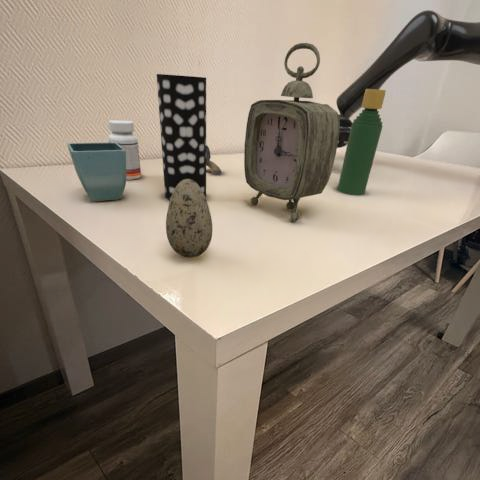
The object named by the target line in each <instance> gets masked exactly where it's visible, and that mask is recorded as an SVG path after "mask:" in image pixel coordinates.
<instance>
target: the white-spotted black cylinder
mask: <svg viewBox="0 0 480 480" xmlns="http://www.w3.org/2000/svg"><path fill="white" fill-rule="evenodd" d="M156 86H157V101H158V115H159V127H160V128H159V129H160V141H161V143H160V144H161V157H162V171H163V172H162V173H163V185H164V197H165V199H166V200H169V201H170V199H171V196H172V194H173V191H174V189H175V188H176V186H177V185H178V184H179V183H180V182H181V181H182V180H184V179H191V180H193V181H195V182H196V183H197V184H198V185H199V187H200V188H201V190H202V191H203V193H204V195H205V197H206V198H207V166H206V145H207V77H204V76H192V75H191V76H190V75H180V74H178V75H177V74H165V73H156Z"/></svg>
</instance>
